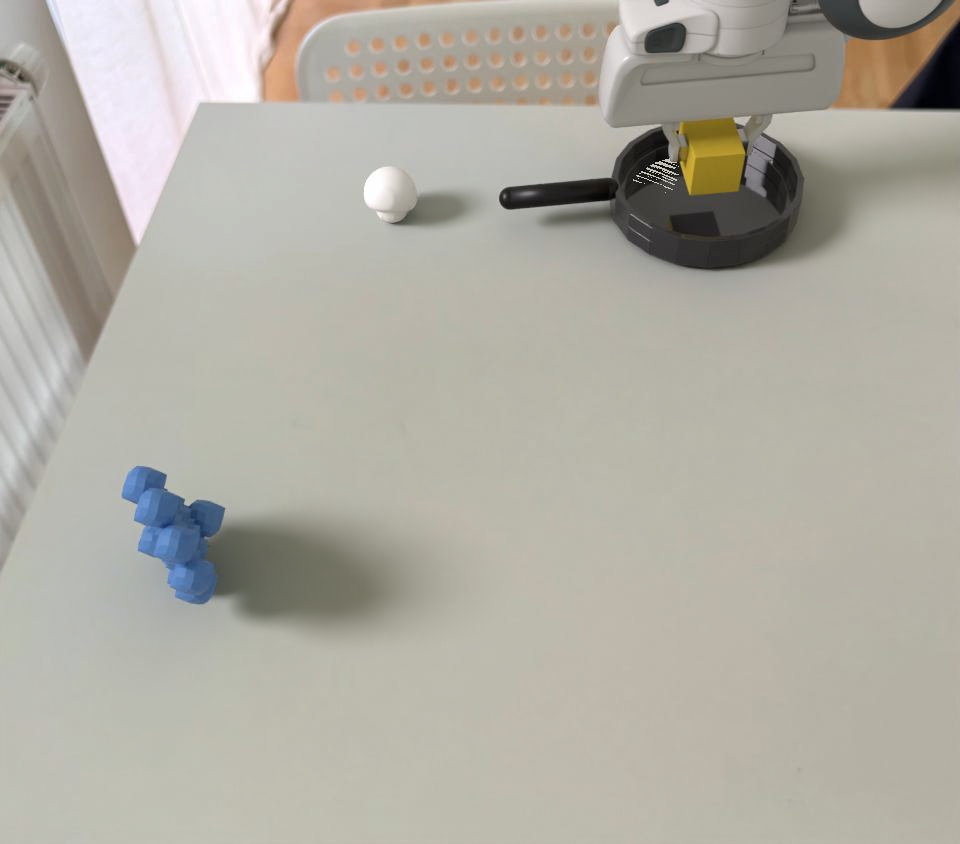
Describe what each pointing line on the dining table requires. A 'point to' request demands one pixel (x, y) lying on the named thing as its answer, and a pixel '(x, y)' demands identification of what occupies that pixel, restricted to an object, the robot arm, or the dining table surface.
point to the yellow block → (712, 156)
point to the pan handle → (558, 193)
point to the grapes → (175, 532)
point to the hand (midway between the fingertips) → (708, 155)
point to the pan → (706, 205)
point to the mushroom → (390, 193)
